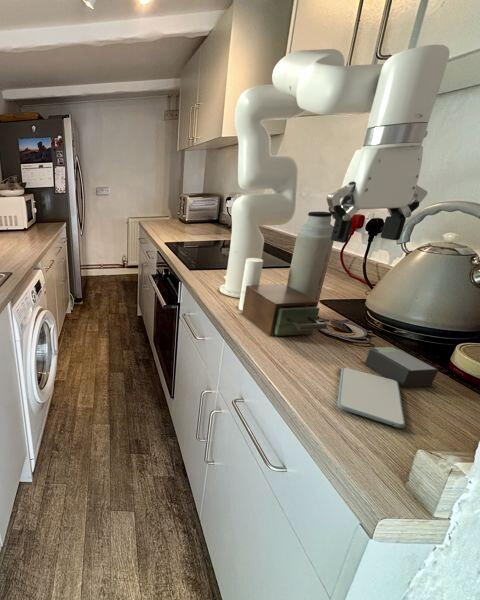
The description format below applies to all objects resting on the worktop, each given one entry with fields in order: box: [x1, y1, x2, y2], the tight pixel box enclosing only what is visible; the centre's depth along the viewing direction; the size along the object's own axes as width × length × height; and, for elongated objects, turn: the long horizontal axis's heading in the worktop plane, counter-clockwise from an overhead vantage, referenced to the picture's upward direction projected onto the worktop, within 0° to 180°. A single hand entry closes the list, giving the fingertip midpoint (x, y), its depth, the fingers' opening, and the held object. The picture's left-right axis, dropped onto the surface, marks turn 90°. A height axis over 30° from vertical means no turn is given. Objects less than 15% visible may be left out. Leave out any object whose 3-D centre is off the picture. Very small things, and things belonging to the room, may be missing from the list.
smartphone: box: [336, 367, 406, 429], centre depth 56 cm, size 8×1×15 cm
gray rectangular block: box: [364, 346, 439, 388], centre depth 61 cm, size 6×8×4 cm
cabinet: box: [241, 283, 319, 337], centre depth 83 cm, size 14×10×9 cm
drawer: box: [274, 305, 328, 337], centre depth 79 cm, size 17×9×7 cm, turn 2°
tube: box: [238, 258, 264, 312], centre depth 91 cm, size 4×4×15 cm
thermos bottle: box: [286, 211, 335, 307], centre depth 85 cm, size 8×8×28 cm
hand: (364, 240), depth 59 cm, fingers open, 9 cm apart
